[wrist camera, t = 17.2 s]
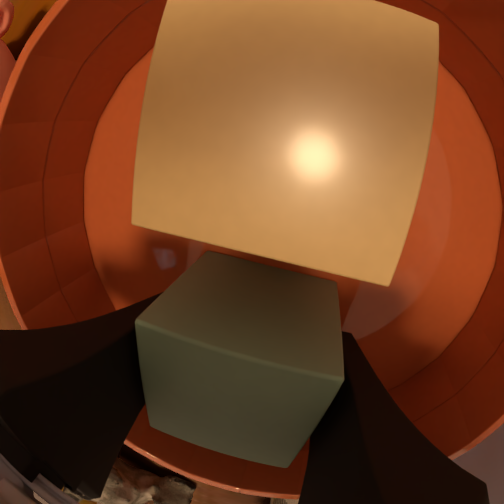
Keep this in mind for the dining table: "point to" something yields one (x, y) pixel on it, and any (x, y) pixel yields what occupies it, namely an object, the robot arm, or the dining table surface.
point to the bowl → (189, 251)
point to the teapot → (3, 60)
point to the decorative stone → (139, 487)
